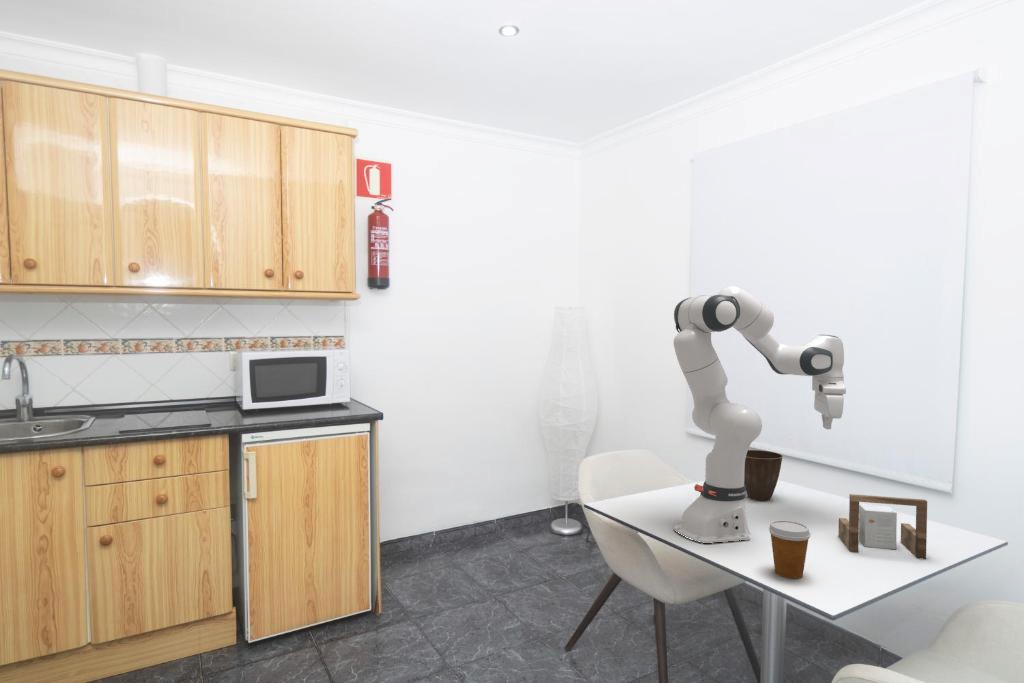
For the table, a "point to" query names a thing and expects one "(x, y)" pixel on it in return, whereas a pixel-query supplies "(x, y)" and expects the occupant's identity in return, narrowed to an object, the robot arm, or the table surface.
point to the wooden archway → (909, 535)
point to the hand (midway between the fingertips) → (826, 428)
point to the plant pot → (761, 474)
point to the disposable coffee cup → (789, 547)
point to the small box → (877, 526)
